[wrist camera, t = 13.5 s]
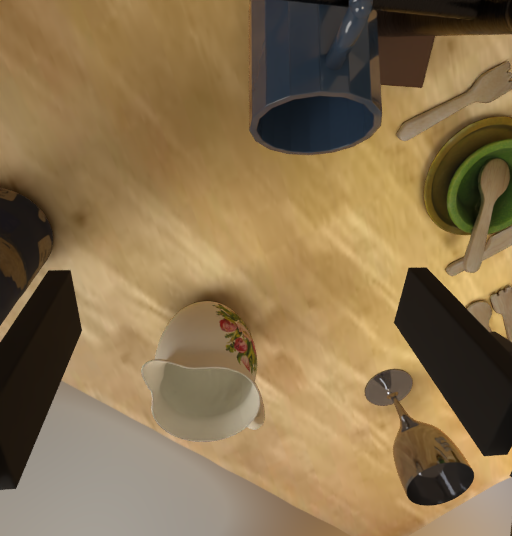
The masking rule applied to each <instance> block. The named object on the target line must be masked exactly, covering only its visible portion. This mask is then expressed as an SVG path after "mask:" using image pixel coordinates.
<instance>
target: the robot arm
mask: <svg viewBox="0 0 512 536" xmlns="http://www.w3.org/2000/svg"><path fill="white" fill-rule="evenodd" d="M394 323H395V325H396V326H397V328H398V329H399V331H400V332H401V334H402V335H403V337H404V338H405V340H406V341H407V343H408V344H409V346H410V347H411V349H412V350H413V352H414V353H415V355H416V356H417V358H418V359H419V361H420V362H421V363H422V365H423V366H424V368H425V369H426V371H427V372H428V374H429V375H430V377H431V378H432V380H433V381H434V383H435V384H436V386H437V387H438V389H439V390H440V392H441V393H442V395H443V396H444V398H445V399H446V401H447V402H448V404H449V405H450V407H451V408H452V410H453V411H454V413H455V414H456V415H457V417H458V418H459V420H460V421H461V423H462V424H463V426H464V427H465V429H466V430H467V432H468V433H469V435H470V436H471V438H472V439H473V441H474V442H475V444H476V445H477V447H478V448H479V450H480V451H481V453H482V454H483V456H493V455H507V454H508V452H509V450H510V449H511V447H512V342H511V341H509V340H508V339H506V338H504V337H503V336H501V335H500V334H498V333H496V332H489V331H488V330H487V329H486V328H485V327H484V326H483V325H482V324H481V323H480V322H479V321H478V320H477V319H476V318H475V317H474V316H473V315H472V314H471V313H470V312H469V311H468V310H467V309H466V308H465V307H464V306H463V305H462V304H461V303H460V302H459V301H458V299H457V298H456V297H455V296H454V295H453V294H452V293H451V292H450V291H449V290H448V289H447V288H446V287H445V286H444V285H443V284H442V283H441V282H440V281H439V280H438V279H437V278H436V277H435V276H434V275H433V274H432V273H431V272H430V271H429V270H428V269H427V268H408V272H407V276H406V280H405V283H404V287H403V291H402V295H401V298H400V302H399V306H398V310H397V313H396V317H395V321H394ZM81 331H82V328H81V323H80V318H79V313H78V307H77V302H76V297H75V291H74V286H73V281H72V275H71V270H55V271H48V272H47V274H46V275H45V277H44V278H43V280H42V281H41V283H40V284H39V286H38V287H37V289H36V290H35V292H34V293H33V295H32V296H31V298H30V299H29V301H28V302H27V304H26V305H25V307H24V308H23V309H22V311H21V312H20V314H19V315H18V317H17V318H16V320H15V321H14V323H13V324H12V326H11V327H10V329H9V330H8V332H7V333H6V335H5V336H4V338H3V339H2V341H1V342H0V490H3V489H16V487H17V485H18V483H19V480H20V478H21V476H22V473H23V471H24V468H25V466H26V464H27V461H28V459H29V456H30V454H31V451H32V449H33V447H34V444H35V442H36V439H37V437H38V435H39V432H40V430H41V427H42V425H43V422H44V420H45V418H46V415H47V413H48V411H49V408H50V406H51V404H52V401H53V399H54V396H55V394H56V391H57V389H58V386H59V384H60V382H61V379H62V377H63V375H64V372H65V370H66V367H67V365H68V363H69V360H70V358H71V355H72V353H73V351H74V348H75V346H76V343H77V341H78V339H79V336H80V334H81ZM510 476H511V477H512V472H511V474H510ZM510 536H512V526H511V535H510Z"/></svg>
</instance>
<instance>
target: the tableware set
mask: <svg viewBox="0 0 512 536" xmlns="http://www.w3.org/2000/svg"><path fill="white" fill-rule="evenodd" d="M509 69H510V63H509V61H508V62H505V63H502V64H500V65H498V66H497V67H495V68H493V69H491V70H489V71H487V72H485V73H483V74H482V75H481V76H480V77H479V78H478V79H477V81H476V82H475V84H474V85H473V87H472V88H471V89H470V90H469V91H467V92H466V93H464V94H462V95H460V96H458V97H456V98H454V99H452V100H450V101H448V102H446V103H443V104H441V105H439V106H437V107H435V108H433V109H431V110H429V111H427V112H425V113H422V114H420V115H418V116H416V117H414V118H412V119H410V120H408V121H406V122H405V123H403V124H402V126H401V128H400V129H399V131H398V132H397V137H398V138H399V139H401V140H403V141H407V140H409V139H411V138H413V137H415V136H416V135H418V134H420V133H421V132H423V131H425V130H427V129H428V128H430V127H431V126H433V125H435V124H436V123H438V122H440V121H441V120H443V119H445V118H447V117H448V116H450V115H452V114H453V113H455V112H457V111H459V110H460V109H462V108H464V107H465V106H467V105H469V104H471V103H473V102H482V103H489V102H491V101H493V100H495V99H497V98H499V97H500V96H502V95H503V94H505V93H507V92H508V91H510V90H511V89H512V81H509V79H511V78H512V73H511V72H509V73H507V71H508V70H509ZM424 200H425V205H426V209H427V212H428V214H429V216H430V218H431V219H432V220H433V222H434V223H435V224H436V225H438V226H439V227H440V228H441V229H443V230H445V231H447V232H450V233H453V234H458V235H471V237H470V241H469V244H468V246H467V249H466V253H465V256H464V258H461V259H459V260H457V261H455V262H453V263H451V264H450V265H448V266H447V268H446V272H447V273H448V274H449V275H450V276H454V275H457V274H459V273H461V272H463V271H464V270H465V271H466V272H470V273H474V272H476V271H478V270H479V268H480V266H481V263H482V261H483V260H485V259H487V258H489V257H491V256H493V255H494V254H496V253H498V252H500V251H502V250H504V249H506V248H507V247H509V246H511V245H512V118H511V117H505V116H500V117H491V118H486V119H483V120H480V121H477V122H475V123H473V124H471V125H469V126H467V127H465V128H464V129H462V130H461V131H459V132H458V133H457V134H455V135H454V136H453V137H452V138H451V139H450V140H449V141H448V142H447V143H446V144H445V145H444V146H443V147H442V148H441V150H440V151H439V152H438V154H437V155H436V157H435V159H434V160H433V162H432V164H431V166H430V168H429V171H428V174H427V178H426V181H425V187H424ZM507 227H508V228H507ZM505 228H506V229H505ZM503 229H504V230H503ZM501 230H502V231H501ZM498 231H500V232H499V233H497V234H495V235H493V236H491V237H490V239H489V240H488V242H487V244H486V239H487V234H492V233H495V232H498ZM485 244H486V246H485ZM490 298H491V303H492V307H493V309H494V310H495V311H496V313H499V314H502V316H503V320H504V324H505V329H506V333H507V338H508V340H509V341H511V342H512V288H511V286H508V287H506V288H505V291H503V290H500V291H499V294H498V295H497V294H496V293H495V294H493V295H491V296H490ZM467 310H468V311H469V312H470V313H471V314H472V315H473V316H474V317H475V318H476V319H477V320H478V321H479V322H480V323H481V324H482V325H483V326H484V327H485V328H486V329H487V330H488V331H489V332H492V331H491V329H490V327H489V320H490V318H491V315H492V310H491V307H490V305H489V304H488V303H486V302H484V301H478V302H474V303H472V304H471V305H469V306H468V307H467Z"/></svg>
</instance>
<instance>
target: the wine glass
mask: <svg viewBox="0 0 512 536" xmlns="http://www.w3.org/2000/svg"><path fill="white" fill-rule="evenodd" d="M411 388H412V378H411V376H410V375H409V374H408V373H407V372H405V371H403V370H397V369H393V370H387V371H384V372H381V373H379V374H377V375H376V376H374V377H373V378H372V379H371V380H370V381H369V382H368V384H367V386H366V388H365V396H366V398H367V400H368V401H369V402H371V403H372V404H375V405H380V406H385V405H391V404H394V405H395V407H396V409H397V412H398V415H399V418H400V428H399V431H398V433H397V436H396V438H395V441H394V445H393V456H394V461H395V465H396V469H397V473H398V476H399V478H400V481H401V484H402V486H403V488H404V490H405V493H406V495H407V497H408V498H409V500H411V501H412V502H413V503H415V504H419V505H437V504H442V503H445V502H448V501H450V500H453V499H454V498H456V497H458V496H460V495H461V494H462V493H464V492H465V491H466V490H467V489H468V488H469V487H470V485H471V484H472V482H473V479H474V472H473V470H472V468H471V466H470V465H469V463H468V461H467V460H466V458H465V457H464V455H463V454H462V453H461V451H460V450H459V448H458V447H457V446H456V445H455V444H454V442H453V441H452V440H451V439H450V438H449V437H448V436H447V435H446V434H445V433H444V432H443V431H441V430H440V429H439V428H437V427H435V426H433V425H430V424H427V423H423V422H420V421H417V420H414V419H413V418H411V417H410V416H409V415H408V414H407V412H406V411H405V410H404V408H403V407H402V405H401V404H400V402H399V401H400V400H402V399H403V398H404V397H406V395H407V394H408V393H409V392H410V390H411Z"/></svg>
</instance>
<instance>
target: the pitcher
mask: <svg viewBox="0 0 512 536" xmlns="http://www.w3.org/2000/svg"><path fill="white" fill-rule="evenodd" d="M141 373H142V377H143V379H144V381H145V383H146V385H147V387H148V388H149V390H150V391H151V394H152V406H151V409H152V414H153V417H154V419H155V421H156V422H157V424H158V425H159V426H160V427H161V428H162V429H164V430H165V431H166V432H168V433H169V434H171V435H173V436H175V437H178V438H181V439H184V440H188V441H195V442H211V441H217V440H222V439H225V438H228V437H231V436H233V435H235V434H237V433H239V432H241V431H242V430H244V429H245V428H246V427H248V428H250V429H253V430H256V429H258V428H260V427H261V426H262V425H263V423H264V420H265V410H264V404H263V400H262V397H261V394H260V391H259V389H258V387H257V385H256V383H255V378H256V373H257V355H256V350H255V346H254V342H253V339H252V337H251V334H250V332H249V330H248V328H247V327H246V325H245V323H244V322H243V321H242V319H241V318H240V317H239V316H238V315H237V314H236V313H235V312H234V311H233V310H232V309H230V308H228V307H227V306H225V305H223V304H220V303H217V302H212V301H202V302H196V303H193V304H190V305H188V306H186V307H185V308H183V309H182V310H180V311H179V312H178V313H177V314H176V315H175V316H174V317H173V318H172V319H171V321H170V322H169V323H168V325H167V326H166V328H165V330H164V331H163V333H162V335H161V338H160V340H159V343H158V347H157V350H156V355H155V360H150V361H148V362H146V363H145V364H144V365H143V366H142V370H141Z"/></svg>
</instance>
